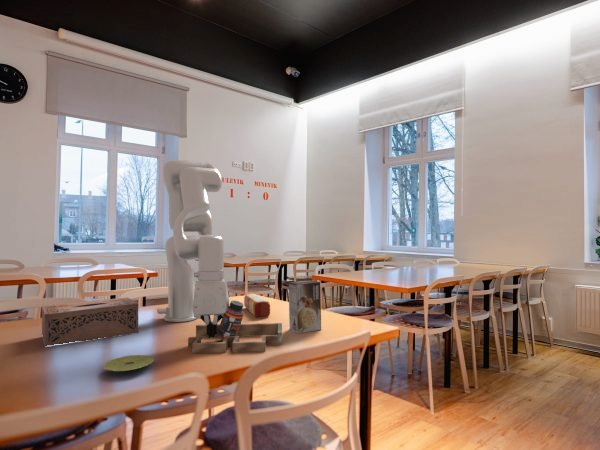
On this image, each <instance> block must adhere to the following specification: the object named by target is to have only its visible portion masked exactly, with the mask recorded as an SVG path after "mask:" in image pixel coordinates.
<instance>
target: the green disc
mask: <svg viewBox="0 0 600 450" xmlns="http://www.w3.org/2000/svg"><path fill="white" fill-rule="evenodd" d="M154 361H155V358H154V356H151V355H144V354H138V355H137V354H134V355H133V354H132V355H124V356H121V357H117V358H113V359H111V360H108V361H107V362H105V363H104V364H103V367H102V368H103V369H104V370H105V371H113V372H125V371H132V370H137V369H141V368H144V367H147V366H149V365H150V364H152V363H153V362H154Z"/></svg>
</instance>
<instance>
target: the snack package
mask: <svg viewBox="0 0 600 450" xmlns="http://www.w3.org/2000/svg"><path fill="white" fill-rule="evenodd" d="M243 299H244V300H243V302H244V303H243V306H244V307H245V308H246V309H247V310H248V311H249V312H250V313H251V314H252V315H254V317H255V318H257V319H265V318H268V317H269V316H270V315H271V304H270V302H269V301H268V300H266V299H264V298H262V297H260V296H259V295H257V294H256V293H248V294H246V295H245V296H244V298H243Z"/></svg>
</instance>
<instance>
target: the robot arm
mask: <svg viewBox="0 0 600 450" xmlns="http://www.w3.org/2000/svg"><path fill="white" fill-rule="evenodd" d="M162 177H163V181H164V185H165V187H166V190H167V194H168V222H169V228H170V230H171V231H172V232H173V233H172V236H170V237H169V238H167V240H166V241H165V245H164V248H165V256H166V262H167V289H168V290H167V294H168V295H167V296H168V297H167V299H168V300H167V304H168V306H167V307H158V308H156V309H157V310H156V311H157V314H159V315H162V314H163V315H164V316H163V320H164V321H165V322H171V323H183V322H191V321H194V320H196V319H199V320H201V321H202V322H203V323H204V325H206V326H207V335H208V339H214V338H215V337H217V336H216V334H217V324H218V323H219V322H221V320H222V317H223V314H225V313H226V312H227V309H228V306H230V299H229V290H228V289H229V288H228V284H227V280H226V279H225V276H224V275H225V273H224V272H225V268H224V267H225V265H224V264H225V263H224V262H225V259H224V255H225V254H224V252H225V251H224V250H225V248H224V239H223V237H222V236H220V235H214V234H213V219H212V214H211V212H210V211H209V209H210V205H211V204H210V200H209V196H208V195H209V194H208V193H217V192H220V190H221V188H222V186H223V178H222V175H221V172H220V171H219V170H218V168H217V167H215V166H214V165H213V164H211V163H209V162H206V161H195V160H186V159H171V160H167V161H166V162H165V163H164V165H163V170H162ZM195 232H197V233H198V234H195V235H193V234H191V235H190V234H189V235H186V234H185V233H195ZM197 260H198V271H197V272H194V270H193V267H192V266H191V265H190V264H189V263H188V261H197ZM195 278H197V280H196V281H195ZM211 316H213V318H212V319H213V320H211Z"/></svg>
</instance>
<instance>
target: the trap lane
mask: <svg viewBox="0 0 600 450" xmlns="http://www.w3.org/2000/svg"><path fill="white" fill-rule="evenodd" d="M219 326H220V323H219V324H218V323H217V332H218V329H219ZM240 336H241V337H245V336H246V337H247V336H262V339H261V340H260V341H240ZM203 337H204V338H205V337H208V335H207V326H206V324H196V325H195V336H189V337H188V338H187V342H188V343H187V345H188V348H192V351H191V352H192V354H205V353H206V354H208V353H209V354H210V353H211V354H212V353H214V354H215V353H226V352H227V349H228V347H230V346H231V347H232V353H247V352H248V353H252V352H253V353H255V352H266V349H267V346H270V345H271V346H274V345H276V346H277V345H278V346H279V345H283V322H265V323H264V322H262V323H261V322H260V323H258V322H257V323H241V324H240V327H239V330H238V333H237V336H225V338H224V340H223V339H222V342H219V341H218V342H202V338H203ZM215 337H218V336H217V334H216V336H215Z"/></svg>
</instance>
